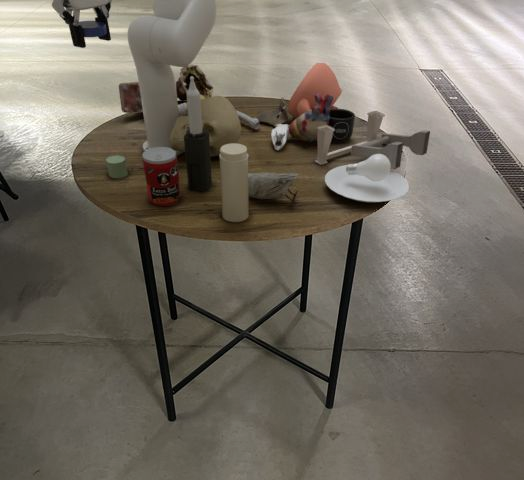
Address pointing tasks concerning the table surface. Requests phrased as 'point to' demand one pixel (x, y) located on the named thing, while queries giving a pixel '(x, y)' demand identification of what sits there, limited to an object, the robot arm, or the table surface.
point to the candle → (197, 144)
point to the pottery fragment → (274, 115)
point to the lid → (93, 28)
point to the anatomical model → (312, 119)
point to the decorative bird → (270, 185)
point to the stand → (117, 166)
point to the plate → (366, 186)
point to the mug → (341, 124)
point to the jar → (234, 182)
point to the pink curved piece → (314, 89)
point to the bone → (249, 120)
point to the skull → (211, 125)
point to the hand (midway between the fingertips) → (92, 42)
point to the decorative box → (130, 97)
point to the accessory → (306, 145)
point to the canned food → (162, 176)
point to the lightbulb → (371, 167)
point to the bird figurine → (279, 135)
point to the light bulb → (185, 107)
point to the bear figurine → (199, 80)
